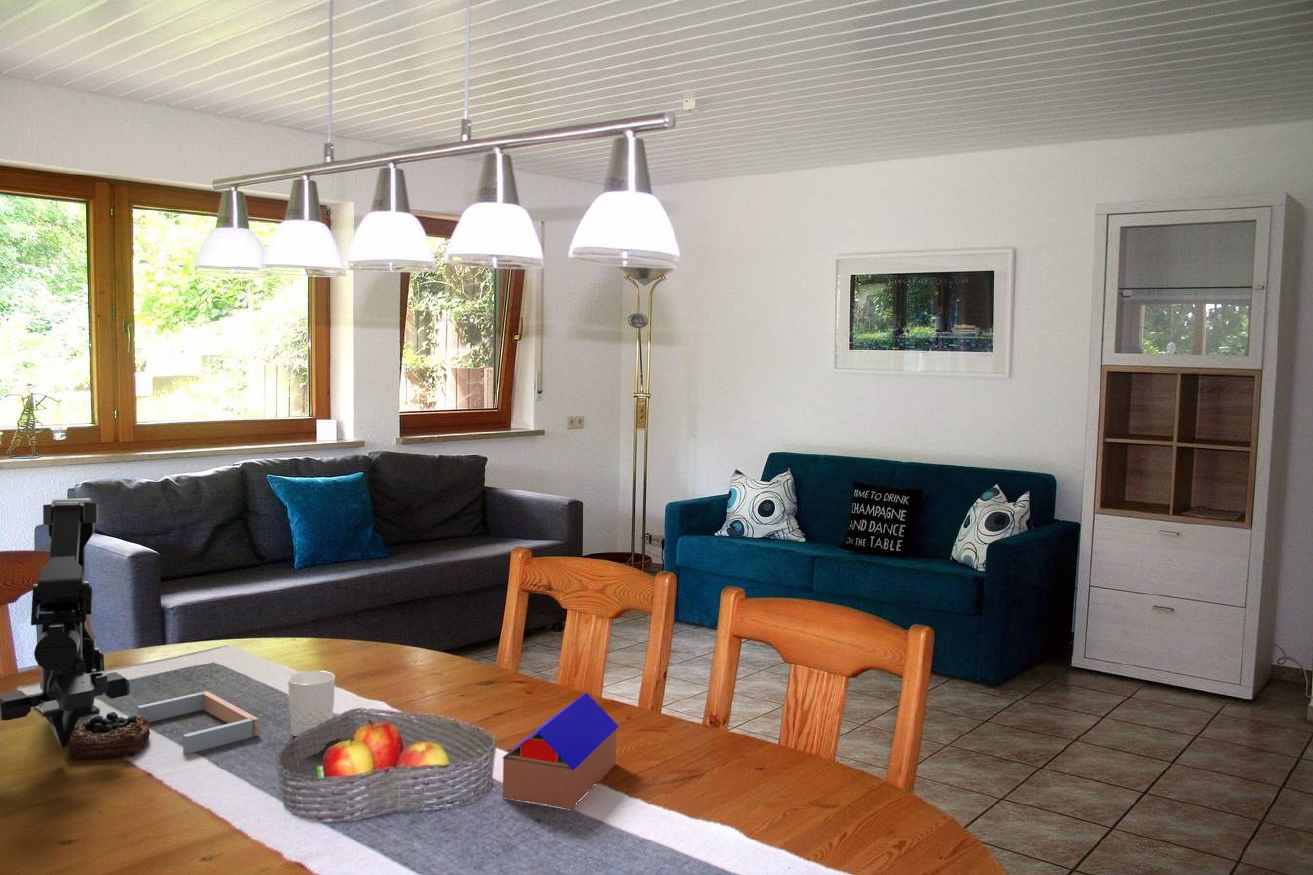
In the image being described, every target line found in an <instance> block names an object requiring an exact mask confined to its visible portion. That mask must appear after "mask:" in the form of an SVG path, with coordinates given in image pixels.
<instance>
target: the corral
mask: <svg viewBox="0 0 1313 875" xmlns="http://www.w3.org/2000/svg"><path fill="white" fill-rule="evenodd" d="M199 711H204V712H207V713H209V714H210V715H212V716H214V717H216V718H218V719H219V720H221V721H223V722H225V724H220V725H217V726H213V727H209V728H206V729H205V728H204V729H201V730H196V731H193V732H188V733H185V734H182V753H183V752H184V754H185V755H189V754H192V753H196V752H201V751H205V750H208V749H211V748H216V747H219V746H223V745H227V744H230V743H231V744H232V743H235V742H238V741H242V740H246V739H250V738H254V737H258V736H260V735H259V734H260V733H259V732H260V728H259V727H260V726H259V725H260V722H259V721H260V720H259V718H258V717H256V716H254V715H253V714H251V713H249V712H247V711H245V710H243V709H241V708H239V707H238V706H236V705H234V704H232V703H230V702H228V701H227V700H224V699H223V698H221V697H219V696H218V695H215V694H214V693H211V692H209V691H207V690H205V691H200V692H196V693H192V694H188V695H187V694H186V695H183V696H178V697H174V698H168V699H165V700H160V701H156V702H151V703H147V704H142V705H138V706H136V716H137V715H144V716H145V717H146V718H148V719H149V720H148V723H151V722H156V721H160V720H164V719H169V718H173V717H178V716H183V715H186V714H192V713H195V712H199Z"/></svg>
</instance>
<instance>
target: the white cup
mask: <svg viewBox="0 0 1313 875" xmlns="http://www.w3.org/2000/svg"><path fill="white" fill-rule="evenodd" d="M335 681H336V674H334V673H332V672H330V671H325V670H310V671H309V670H308V671H302V672H297V673H294V674H292V675H290V676H289V677H288V679H287V684H288V686H287V687H288V707H289V718H290V726H291V727H290V728H291V731H290V732H291V735H292V736H293V737H294V736H296V735H298V734H300V733H302V732H304V731H306V730H308V729H311V728H313V727H315V726H317V725H319V724H320V723H322V722H325V721H326V720H329V719H331V718H332V719H333V716H334V712H333V711H334V703H335V702H334V701H335V684H336V683H335Z"/></svg>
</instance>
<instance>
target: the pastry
mask: <svg viewBox="0 0 1313 875" xmlns="http://www.w3.org/2000/svg"><path fill="white" fill-rule="evenodd" d="M148 720H149V719H148V718H146V717H145V716H144V715H137V714H134V715H130V716H128V717H127V718H126V717H122V716H119V715H118V713H116V712H115V711H112V712H108V713H106V716H105V718H104V716H102V715H99V714H97V715H95V716H93V717H92V718H90V719H87V720H86V721H84V722H83V723H81V724H79V725H76V727H75V731H73V733H72V736H71V738H70V741H69V744H68V746H67V747H68V749H69V752H68V753H69V755H70V760H71V761H87V760H88V761H90V760H91V761H94V760H95V761H96V760H107V759H110V760H111V759H128V758H130V757H135V756H136V755H138V754H139V753H140V752H139V751H140V750H143V749H144V747H145V746H146V745H147V743H148V742H149V740H150V735H151V732H150V728H151V725H150V722H148ZM142 748H143V749H142ZM137 753H138V754H137Z"/></svg>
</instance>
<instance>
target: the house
mask: <svg viewBox="0 0 1313 875" xmlns="http://www.w3.org/2000/svg"><path fill="white" fill-rule="evenodd" d="M619 727H620V726H619V725H618V724H617V723H616V722H615V721H614V720H613V718H612V717H611V716H609V714H608V713H607V712H606V711H605V710H604V709H603V708H602V707H601V706H600V705H599V704H598V703H597V702H596V701H595V700H594V699H593V698H592V697H591V696H590V694H588V692H585V693H584V694H582V695H581V696H579V697H578V698H577V699H575V700H574V701H573V702H572V703H570V704H569V705H567V706H566V707H565V708H562V710H561V711H559V712H558V713H557V714H555V715H553V716H552V717H551V718H550V719H548V720H547V721H546V722H545V723H543V725H541V726H540V727H538V728H537V729H535V731H534V732H532V733H531V734H530V735H529V736H527V737H526V738H524V740H522V741H521V742H520V743H518V744H517V745H516V746H515V747H514V748H512V749H511V750H509V751H508V752H507V753H506V754H504V756H502V759H503V763H502V764H503V765H502V768H503V769H502V770H503V771H502V772H503V773H502V799H503V798H508V799H514V800H521V801H529V802H535V803H540V804H541V803H542V804H547V805H551V806H557V807H562V808H566V809H572V808H573V807H574V806H575V805H576V803H578V801H579V800H580V799H581V798H582V797H583V796H584V795H585V794H586V793H587V792H588V790H590V789H591V788H592V786H594V784H596V783H597V782H598V781H599V782H600V781H601V780H602V779H603V778H604V777H605V776H606V774H608V773H609V771H611V769H612V768H613V767H614V766H615V765H616V756H617V755H616V753H617V730H618V728H619ZM599 782H598V783H599ZM598 783H597V784H598ZM597 784H596V785H597ZM594 787H595V786H594ZM592 789H593V788H592ZM592 789H591V790H592ZM591 790H590V791H591ZM578 804H579V803H578ZM576 806H577V805H576ZM576 806H575V807H576ZM575 807H574V808H575ZM574 808H573V809H574ZM573 809H572V810H573Z"/></svg>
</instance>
